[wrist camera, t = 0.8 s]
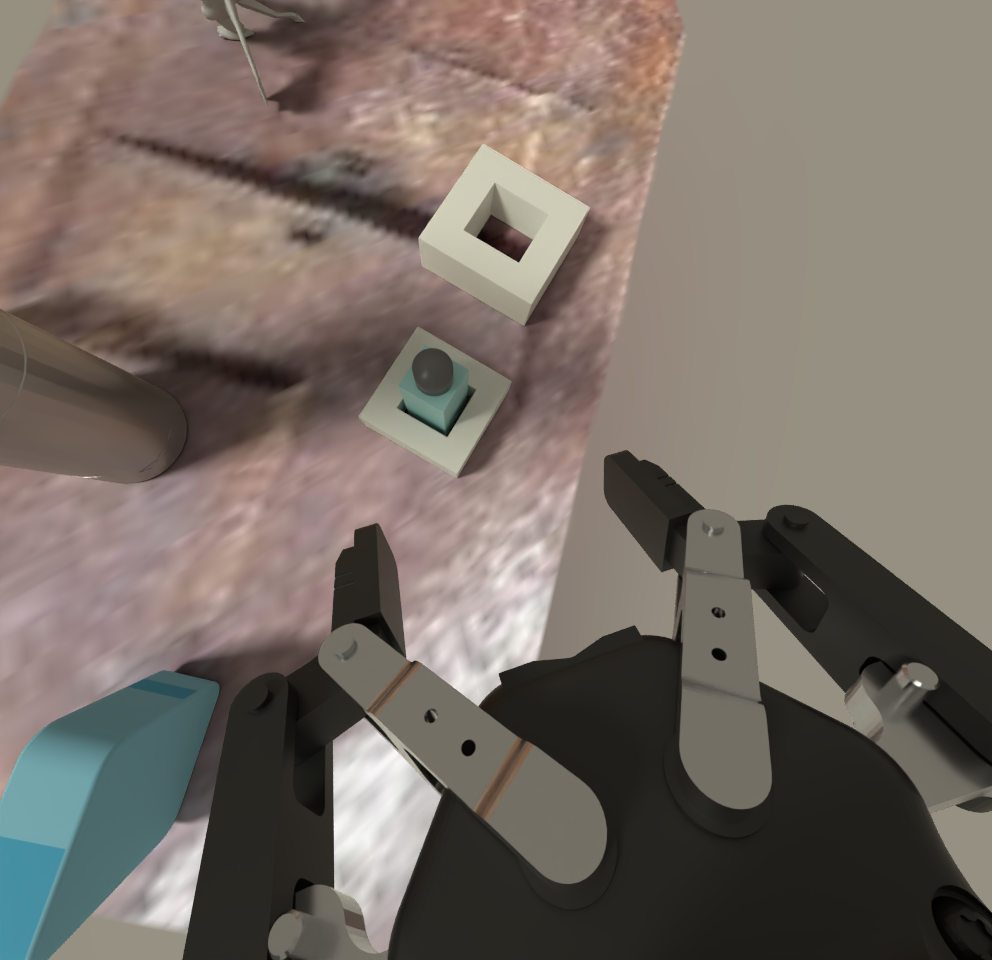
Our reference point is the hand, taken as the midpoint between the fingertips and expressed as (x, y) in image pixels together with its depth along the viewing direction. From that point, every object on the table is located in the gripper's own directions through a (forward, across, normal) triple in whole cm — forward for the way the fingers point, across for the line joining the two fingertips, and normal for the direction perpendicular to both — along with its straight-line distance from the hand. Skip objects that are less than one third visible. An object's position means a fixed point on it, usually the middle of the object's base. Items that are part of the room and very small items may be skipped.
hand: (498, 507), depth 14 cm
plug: (+26, 0, +9) cm, 27 cm away
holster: (+26, 0, +8) cm, 27 cm away
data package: (+11, +29, +24) cm, 39 cm away
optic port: (+36, -11, -2) cm, 38 cm away
